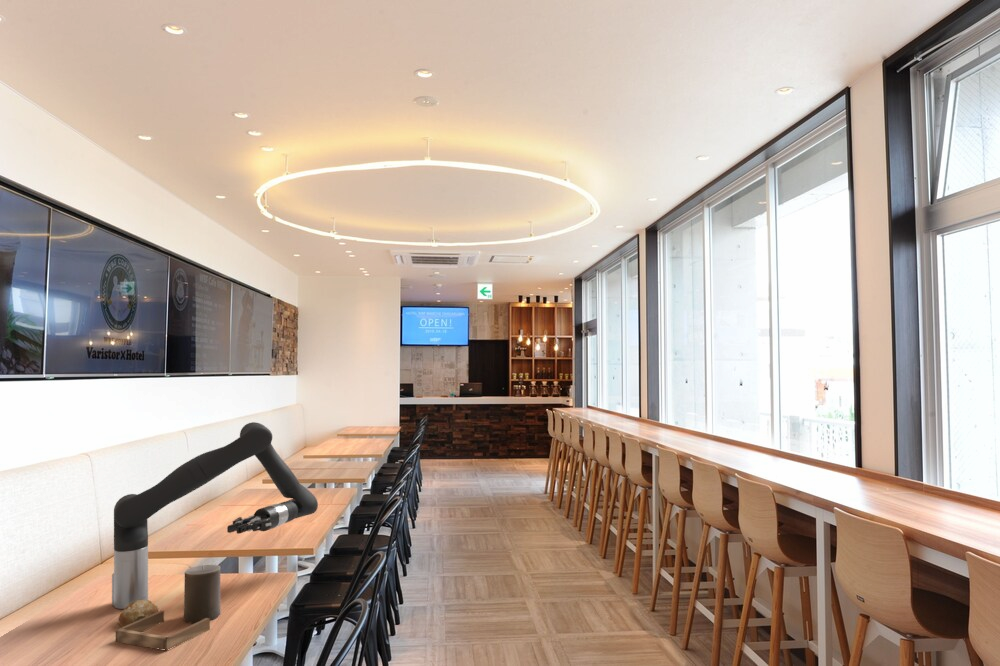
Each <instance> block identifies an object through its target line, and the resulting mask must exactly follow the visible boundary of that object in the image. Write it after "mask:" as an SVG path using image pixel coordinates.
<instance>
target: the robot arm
mask: <svg viewBox="0 0 1000 666" xmlns="http://www.w3.org/2000/svg"><path fill="white" fill-rule="evenodd" d="M272 441H273V433H272V431H271V430H270V429H269V428H268V427H266V426H265V425H264V424H262V423H260V422H256V421H253V422H248V423H246V424H245V425H244V426H243V427H242V428H241V429H240V432H239V437H238V438H236V439H235V440H233V441H231V442H230V443H228V444H226V445H225V446H222V447H219V448H216V449H212V450H209V451H206V452H204V453H202V454H199V455H197V456H195V457H192V458H191V459H190V460H188V461H186V462H185V463H183V464H181V465H180V466H178V467H176V468H175V469H174V470H173V471H172V472H170V473H169V474H168V475H166V477H164V478H163V479H162V480H160V481H159V482H158V483H156V485H154V486H152V487H150V488H148V489H146V490H144V491H142V492H140V493H138V494H136V493H129V494H126V495H124V496H122V497H120V498H119V499H118V500H117V501H116V502H115V505H114V508H113V573H112V574H111V605H112V606H114V608H115V609H119V610H120V609H121V610H124V609H125V608H126V607H127V606H128V605H129V604H131V603H132V602H134V601H137V600H147V601H149V531H148V519H150V518H151V517H152V516H154V515H155V514H157V512H159V511H161V510H162V509H164V508H165V507H166V506H168V505H169V504H171V503H173V502H176V501H177V500H180V499H181V498H183V497H184V496H187V495H188V494H190V493H192V492H195V491H196V490H197V489H199V488H201V487H202V486H205V485H206V484H207V483H209V482H211V481H212V480H214V479H215V478H217V477H219V476H220V475H222V474H224V473H225V472H226V471H229V470H230V469H231V468H233V467H235V466H236V465H238V464H239V463H242V462H243V461H245V460H247V459H249V458H252V457H253V456H255V457H256V458H257V460H258V461H259V463H260V464H261V465H262V467H263V468H264V469H265V471H266V473H267V474H268V476H269V477H270V479H271V480H272V482H273V484H274V485H275V487H276V488H277V490H278V491H279V492H280V494H281V495H282V496H283V497H284V498H286V499H289V500H286V501H282V502H279V503H274V504H270V505H267V506H264V507H261V508H258V509H257V510H255V512H254V513H253V515H249V516H248V517H244V518H243V517H242V516H239V517H237V518H235V519H234V520H233V521H232V524H229V525H227V528H226V529H227V533H228V534H231V533H234V532H236V534H242V533H245V532H251V531H252V532H258V531H260V532H267V531H270V530H272V529H275V528H277V527H280V526H282V525H284V524H287V523H289V522H291V521H293V520H294V519H295V520H296V519H298V518H302V517H306V516H309V515H313V514H314V513H316V512H317V510H318V505H319V504H318V499H317V498H316V496H315V495H314V494H313V493H312V492H311V491H310V490H309V489H308V488H307V487H305V486H304V485H303V484H302V483H300V481H299V479H298V478H297V476H296V475H295V473H293V471H292V470H291V468H290V467H289V466H288V465H287V463H286V462H285V461H284V460H283V459H282V457H281V456H280V455H279V454H278V452H277V451H276V449H275V448H274V446H273V444H272Z"/></svg>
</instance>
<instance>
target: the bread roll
mask: <svg viewBox="0 0 1000 666" xmlns="http://www.w3.org/2000/svg"><path fill="white" fill-rule="evenodd" d="M159 611H160V610H159V608H158V606H157V605H156V604H154V603H153V602H152V601H151V600H148V601H147V600H137V601H134V602H132V603H131V604H129V605H128V606H127V607H126V608H125V609H122V611H121V612H120V613H119V615H118V625H119V626H120V628H122V627H124V626H127V625H129V624H131V623H133V622H136V621H138V620H140V619H143V618H145V617H147V616H150V615H152V614H154V613H156V612H159Z"/></svg>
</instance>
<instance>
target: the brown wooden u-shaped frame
mask: <svg viewBox="0 0 1000 666" xmlns="http://www.w3.org/2000/svg"><path fill="white" fill-rule="evenodd" d="M164 615H165V612H164V610H159V612H156V613H154V614H152V615H150V616H147V617H145V618H143V619H140V620H138V621H136V622H133V623H131V624H129V625H127V626H124V627H120V628H118V629H115V642H116V643H122V644H126V645H131V644H132V646H136V645H138V647H142V646H143V647H142V648H147V647H152V648H159V649H165V650H168V649H170V648H172V647H174V646H176V647H178V646H180V645H182V644H183V642H184V643H186V642H188V641H190V640H192V639H194V638H196V637H198V636H200V635H201V633H202V634H203V632H204V633H205V632H207V631H209V630H211V625H210V624H211V622H210V621H211V620H210V618H205V619H203V620H201V621H199V622H197V623H192V624H191V625H189V626H186V627H185V628H183V629H181V630H179V631H177V632H174V633H172V634H170V635H168V636H166V635H158V634H155V633H154V634H152V633H146V632H144V630H145V631H147V630H149V629H151V628H153V627H156V626H157V624H158V625H159V623H160V624H162V623H164V622H165V619H164ZM155 625H156V626H155ZM150 627H151V628H150ZM148 628H149V629H148ZM146 629H147V630H146ZM199 634H200V635H199ZM195 636H196V637H195ZM193 637H194V638H193ZM191 638H192V639H191ZM189 639H190V640H189ZM187 640H188V641H187ZM185 641H186V642H185ZM181 643H182V644H181ZM179 644H180V645H179ZM177 645H178V646H177ZM152 648H151V649H152ZM174 648H175V647H174ZM172 649H173V648H172ZM170 650H171V649H170ZM168 651H169V650H168Z"/></svg>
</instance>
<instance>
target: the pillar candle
mask: <svg viewBox="0 0 1000 666" xmlns="http://www.w3.org/2000/svg"><path fill="white" fill-rule="evenodd" d="M183 589H184V593H183V594H184V600H183V604H184V605H183V607H184V609H183V620H184V621H185V622H186V623H188V622H191V623H190V624H195V623H197V622H199V621H201V620H203V619H205V618H210V621H212V620H215V619H217V618H219V617H220V616H221V566H220V565H218V564H205V565H203V564H202V565H197V566H192V567H189V568H187V569H186V570H185V571H184V588H183ZM219 615H220V616H219ZM218 616H219V617H218Z"/></svg>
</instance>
